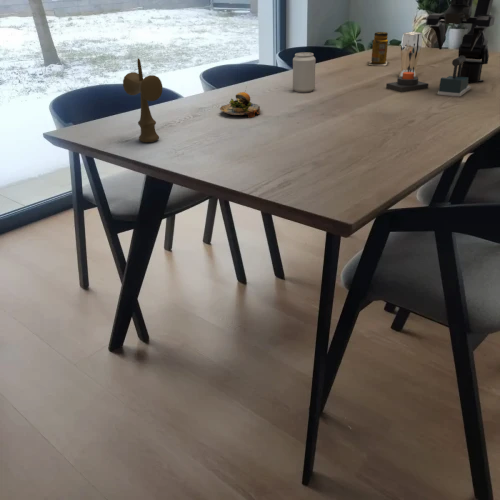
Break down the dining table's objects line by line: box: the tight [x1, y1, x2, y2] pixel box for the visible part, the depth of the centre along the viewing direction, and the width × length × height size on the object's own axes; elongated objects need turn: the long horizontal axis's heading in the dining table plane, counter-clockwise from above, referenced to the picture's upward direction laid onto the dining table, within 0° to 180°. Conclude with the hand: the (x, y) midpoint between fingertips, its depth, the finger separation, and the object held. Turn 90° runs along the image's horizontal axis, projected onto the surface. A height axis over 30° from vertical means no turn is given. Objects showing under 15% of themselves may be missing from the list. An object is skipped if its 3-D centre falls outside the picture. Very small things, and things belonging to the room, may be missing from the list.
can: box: [292, 52, 316, 93], centre depth 174 cm, size 8×8×12 cm
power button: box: [402, 72, 414, 79], centre depth 172 cm, size 4×4×2 cm
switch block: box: [385, 76, 429, 93], centre depth 173 cm, size 11×8×4 cm
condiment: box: [368, 31, 389, 66], centre depth 213 cm, size 7×8×12 cm
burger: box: [219, 86, 261, 119], centre depth 151 cm, size 12×12×8 cm
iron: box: [437, 56, 472, 98], centre depth 164 cm, size 12×7×11 cm, turn 145°
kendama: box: [122, 58, 163, 143], centre depth 127 cm, size 6×10×20 cm, turn 43°
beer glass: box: [398, 31, 423, 77], centre depth 187 cm, size 7×7×15 cm
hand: (455, 50), depth 161 cm, fingers open, 9 cm apart
